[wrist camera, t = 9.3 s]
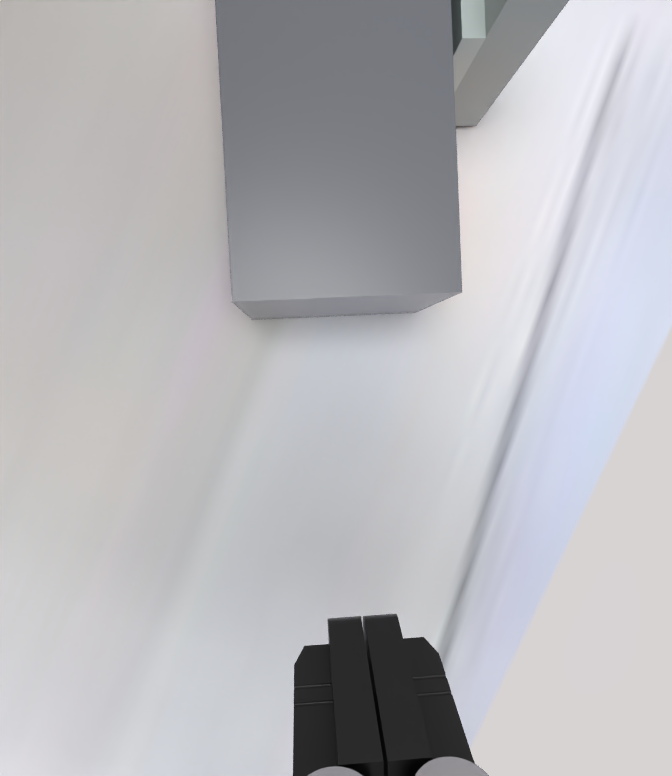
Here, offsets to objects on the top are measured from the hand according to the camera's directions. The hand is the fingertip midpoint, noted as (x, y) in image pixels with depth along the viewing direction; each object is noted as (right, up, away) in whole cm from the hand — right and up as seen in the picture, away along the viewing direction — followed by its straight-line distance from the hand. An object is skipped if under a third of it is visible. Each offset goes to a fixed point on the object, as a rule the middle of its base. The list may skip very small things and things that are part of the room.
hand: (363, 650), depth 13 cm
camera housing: (-1, +21, +21) cm, 30 cm away
